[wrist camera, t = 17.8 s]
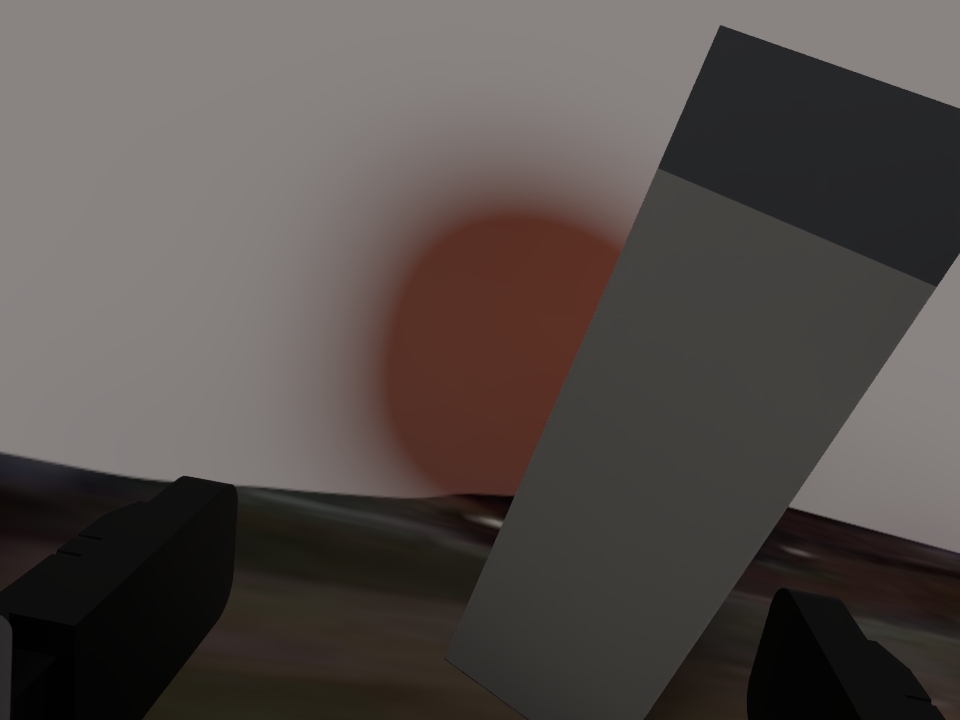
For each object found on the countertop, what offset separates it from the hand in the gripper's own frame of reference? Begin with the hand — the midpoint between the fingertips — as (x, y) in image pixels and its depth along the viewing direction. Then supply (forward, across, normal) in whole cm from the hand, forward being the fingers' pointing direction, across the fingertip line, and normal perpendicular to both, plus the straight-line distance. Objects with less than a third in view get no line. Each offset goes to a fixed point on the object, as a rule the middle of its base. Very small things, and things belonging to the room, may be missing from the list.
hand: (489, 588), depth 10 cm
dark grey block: (+27, -5, +21) cm, 34 cm away
